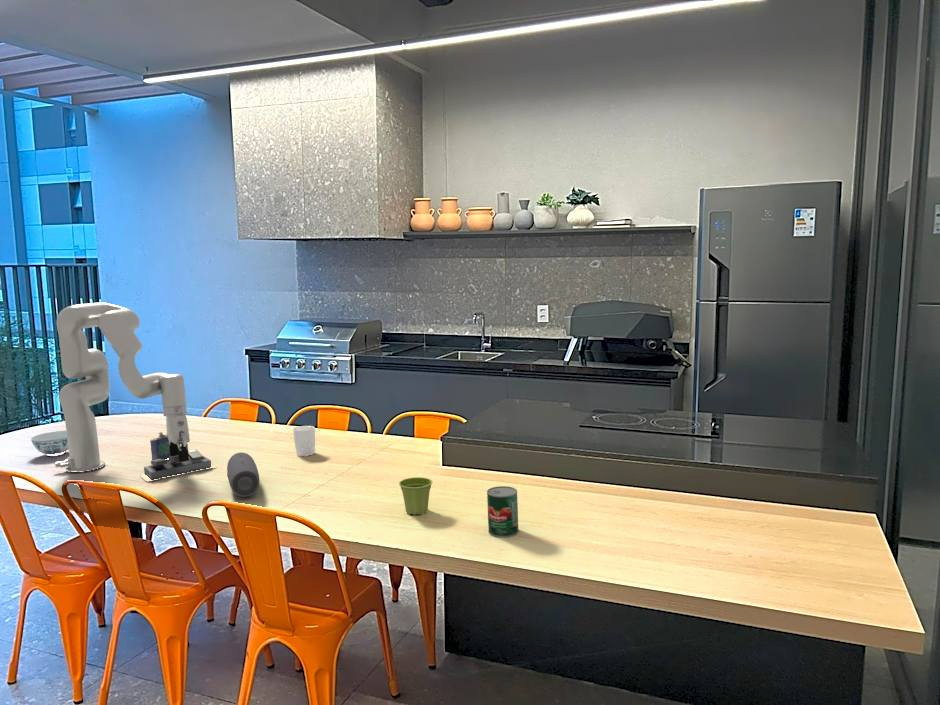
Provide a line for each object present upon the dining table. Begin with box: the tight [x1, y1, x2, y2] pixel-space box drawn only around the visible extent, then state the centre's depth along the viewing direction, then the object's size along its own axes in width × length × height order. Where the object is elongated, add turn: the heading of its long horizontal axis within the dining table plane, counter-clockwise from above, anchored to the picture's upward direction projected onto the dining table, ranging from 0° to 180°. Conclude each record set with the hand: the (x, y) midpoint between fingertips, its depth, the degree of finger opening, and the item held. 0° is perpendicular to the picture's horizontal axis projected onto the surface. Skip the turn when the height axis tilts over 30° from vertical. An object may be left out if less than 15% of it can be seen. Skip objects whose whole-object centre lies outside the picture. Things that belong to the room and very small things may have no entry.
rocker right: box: [188, 449, 204, 461], centre depth 253 cm, size 4×7×1 cm, turn 39°
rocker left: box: [150, 459, 169, 466], centre depth 245 cm, size 4×7×1 cm, turn 39°
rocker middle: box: [168, 455, 179, 462], centre depth 249 cm, size 4×7×1 cm, turn 39°
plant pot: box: [398, 476, 433, 516], centre depth 202 cm, size 9×9×9 cm
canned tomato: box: [486, 485, 520, 538], centre depth 185 cm, size 8×8×11 cm
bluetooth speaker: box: [226, 451, 260, 498], centre depth 227 cm, size 23×9×10 cm, turn 21°
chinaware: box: [30, 430, 69, 455], centre depth 278 cm, size 15×15×8 cm
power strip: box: [143, 455, 212, 480], centre depth 249 cm, size 23×10×3 cm, turn 129°
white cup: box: [292, 425, 316, 457], centre depth 266 cm, size 8×8×10 cm
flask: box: [149, 431, 171, 461], centre depth 264 cm, size 9×3×11 cm, turn 146°
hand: (179, 458), depth 247 cm, fingers open, 9 cm apart
